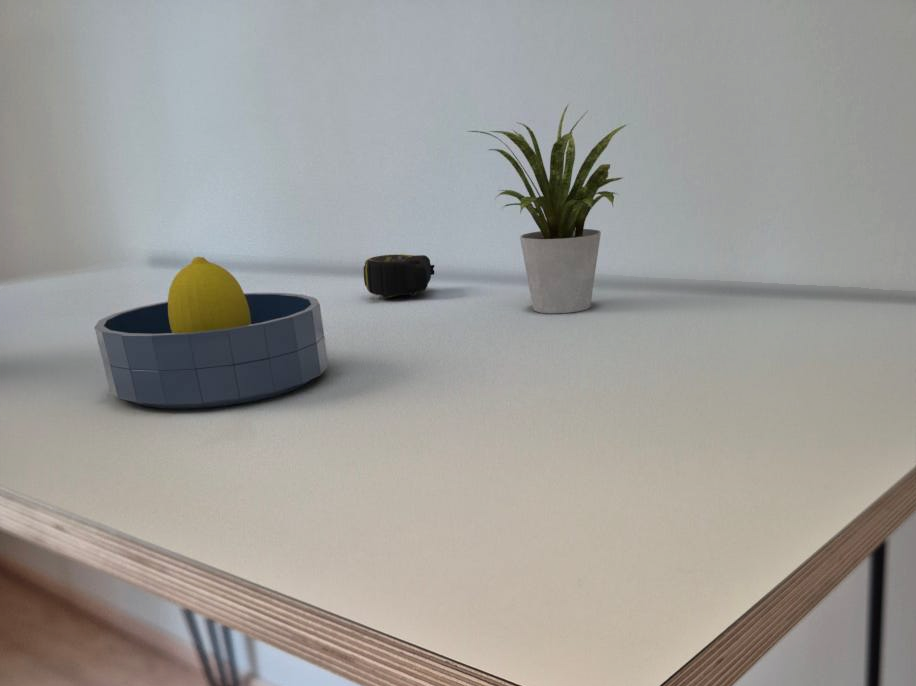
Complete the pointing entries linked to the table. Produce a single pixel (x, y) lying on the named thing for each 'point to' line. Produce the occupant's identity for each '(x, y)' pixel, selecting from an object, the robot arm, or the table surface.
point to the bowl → (213, 354)
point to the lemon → (206, 299)
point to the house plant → (560, 222)
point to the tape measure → (397, 274)
